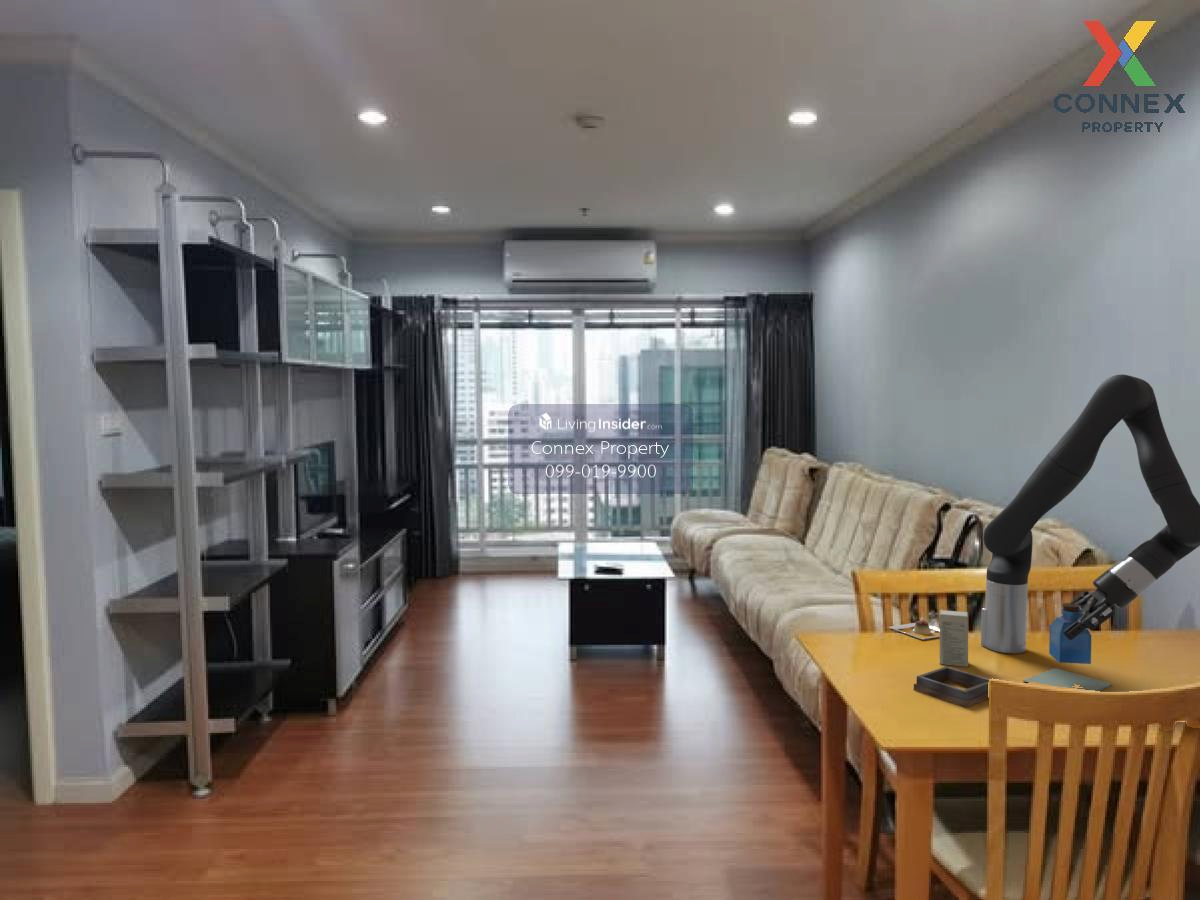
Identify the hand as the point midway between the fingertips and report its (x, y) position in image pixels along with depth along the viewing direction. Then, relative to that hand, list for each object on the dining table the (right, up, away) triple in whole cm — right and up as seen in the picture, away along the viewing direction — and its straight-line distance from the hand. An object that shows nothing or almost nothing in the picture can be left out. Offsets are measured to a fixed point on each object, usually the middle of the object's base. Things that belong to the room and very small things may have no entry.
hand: (1061, 631), depth 173 cm
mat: (+1, -12, 0) cm, 12 cm away
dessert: (-15, -10, +39) cm, 43 cm away
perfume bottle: (+2, -6, 0) cm, 6 cm away
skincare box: (-18, -11, +14) cm, 25 cm away
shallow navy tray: (-26, -12, -5) cm, 29 cm away
